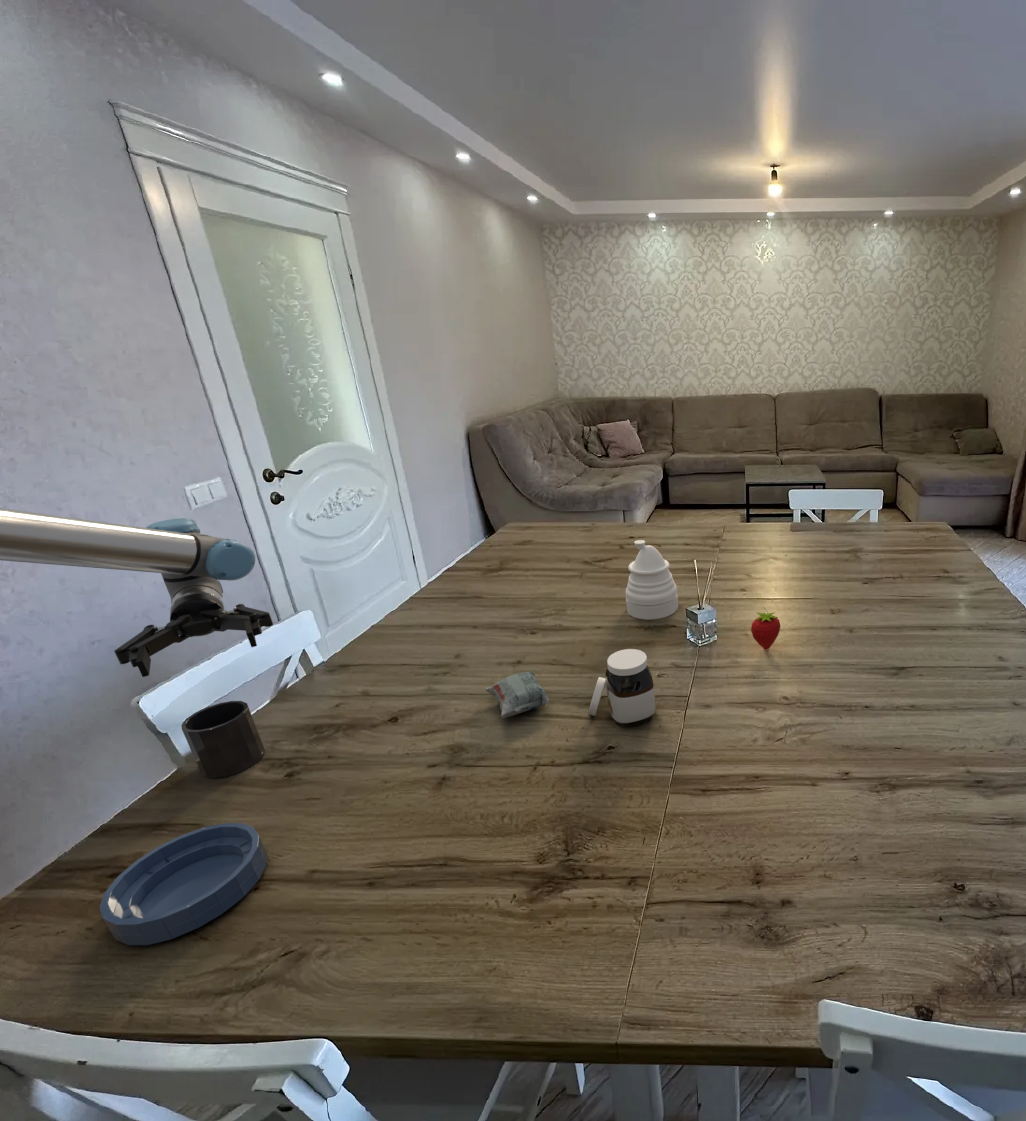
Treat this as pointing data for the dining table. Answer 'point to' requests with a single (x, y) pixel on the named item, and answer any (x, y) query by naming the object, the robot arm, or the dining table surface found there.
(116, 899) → the plate
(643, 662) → the spread jar
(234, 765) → the coffee cup
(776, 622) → the strawberry
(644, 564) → the honey pot
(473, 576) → the dining table surface
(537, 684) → the packaged food
